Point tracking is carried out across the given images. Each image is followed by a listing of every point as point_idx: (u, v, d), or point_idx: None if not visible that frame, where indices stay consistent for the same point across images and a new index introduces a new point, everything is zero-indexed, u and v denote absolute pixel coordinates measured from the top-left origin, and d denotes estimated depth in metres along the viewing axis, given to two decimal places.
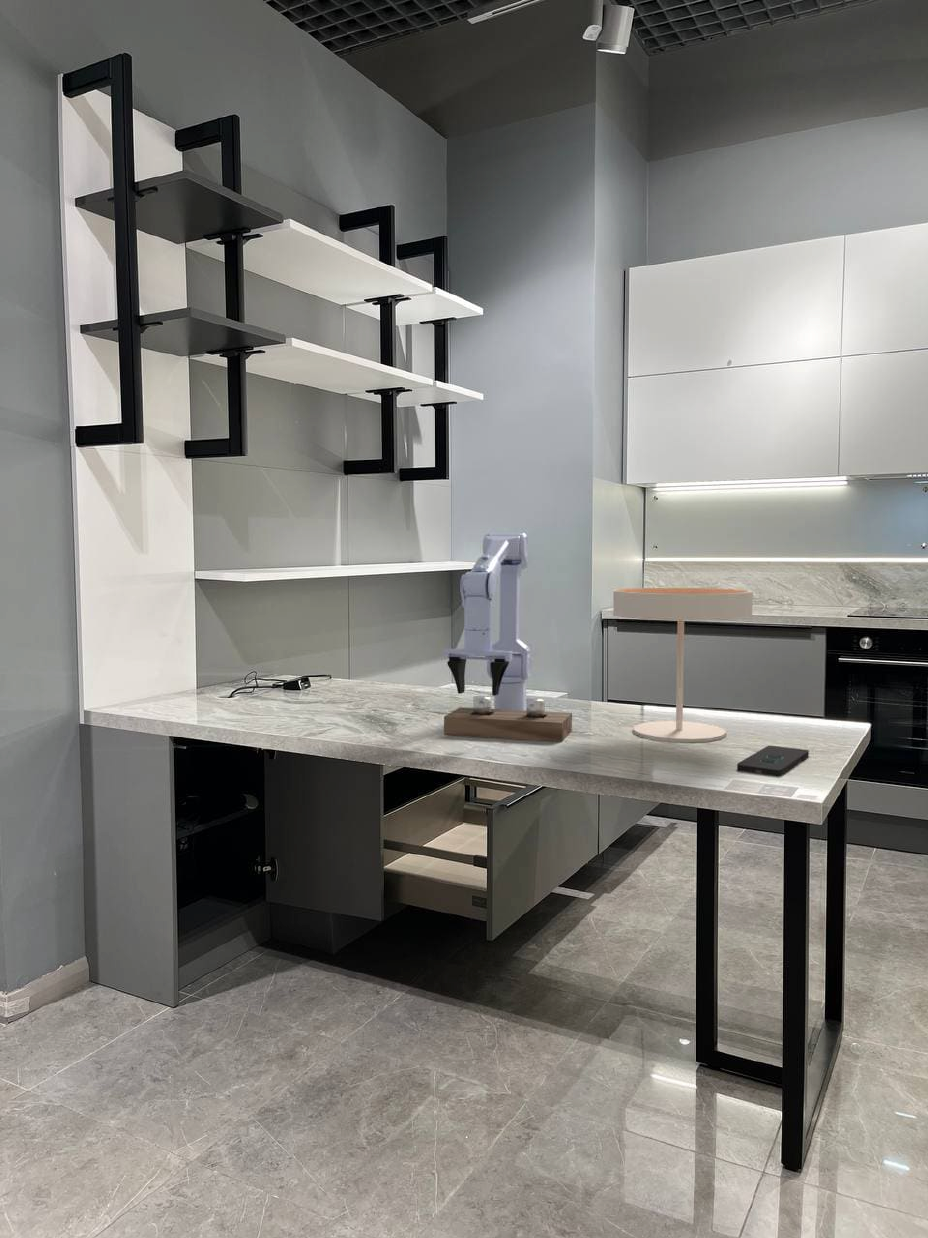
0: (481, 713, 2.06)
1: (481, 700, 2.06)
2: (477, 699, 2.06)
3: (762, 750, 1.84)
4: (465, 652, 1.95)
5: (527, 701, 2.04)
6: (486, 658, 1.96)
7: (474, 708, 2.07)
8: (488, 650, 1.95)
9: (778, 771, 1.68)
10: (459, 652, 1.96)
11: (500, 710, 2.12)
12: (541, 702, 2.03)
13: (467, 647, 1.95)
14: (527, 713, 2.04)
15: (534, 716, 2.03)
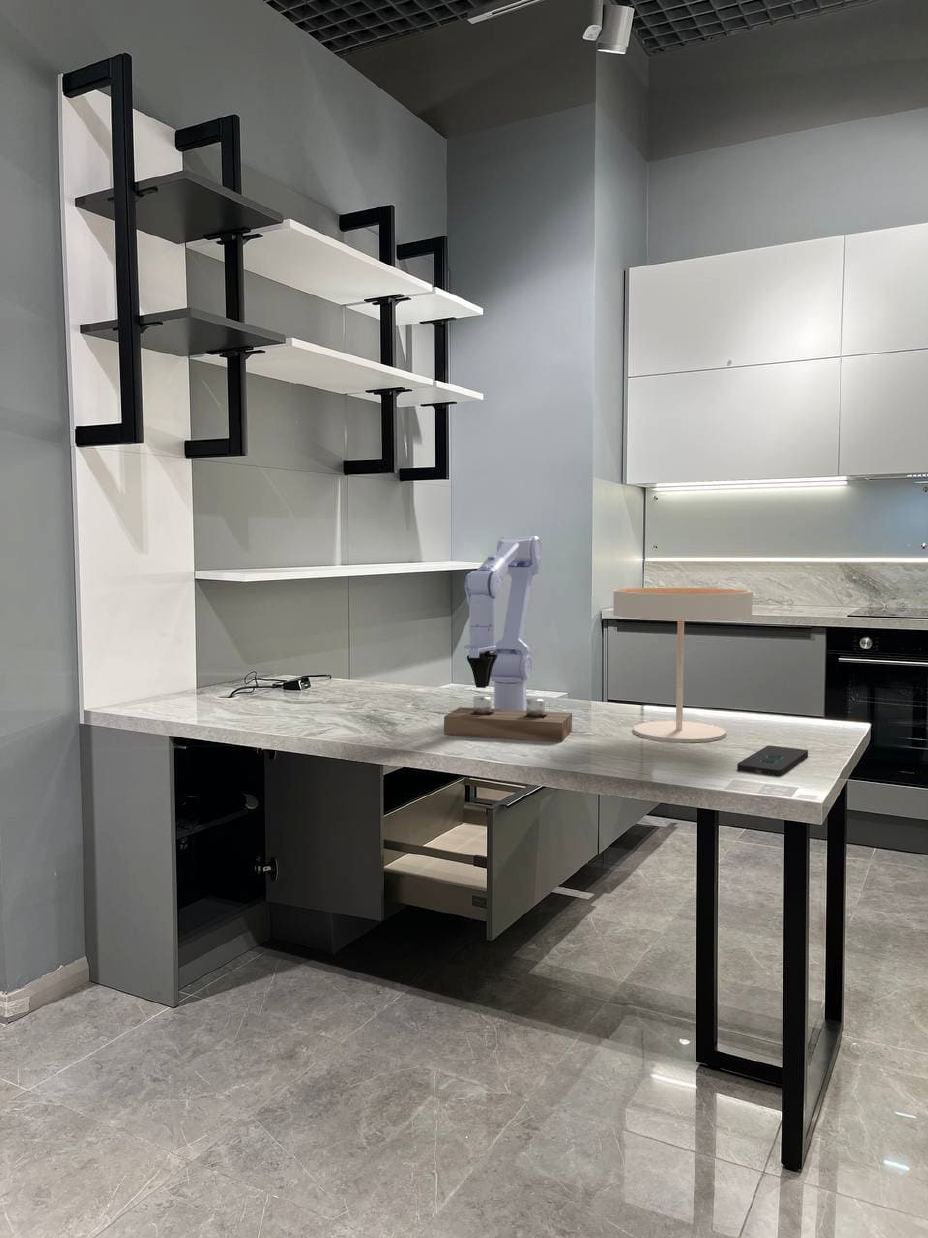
0: (481, 713, 2.06)
1: (481, 700, 2.06)
2: (477, 699, 2.06)
3: (762, 750, 1.84)
4: None
5: (527, 701, 2.04)
6: None
7: (474, 708, 2.07)
8: (474, 645, 2.05)
9: (778, 771, 1.68)
10: None
11: (500, 710, 2.12)
12: (541, 702, 2.03)
13: None
14: (527, 713, 2.04)
15: (534, 716, 2.03)
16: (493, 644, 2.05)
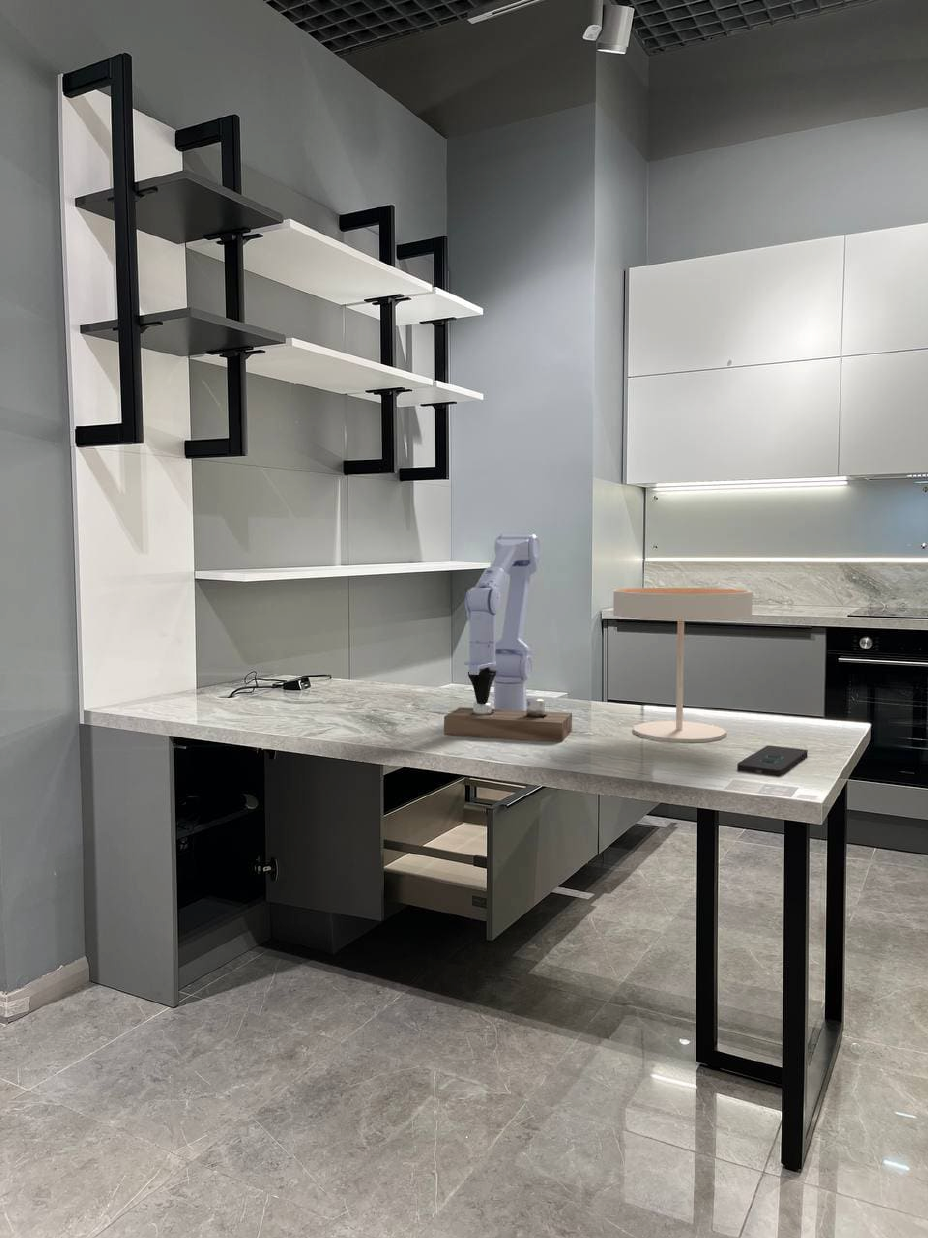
0: None
1: (481, 706, 2.06)
2: (477, 705, 2.06)
3: (761, 750, 1.84)
4: None
5: (527, 701, 2.04)
6: None
7: (474, 714, 2.07)
8: (474, 662, 2.05)
9: (778, 771, 1.68)
10: None
11: (500, 710, 2.12)
12: (541, 702, 2.03)
13: None
14: (527, 713, 2.04)
15: (534, 716, 2.03)
16: (493, 661, 2.06)
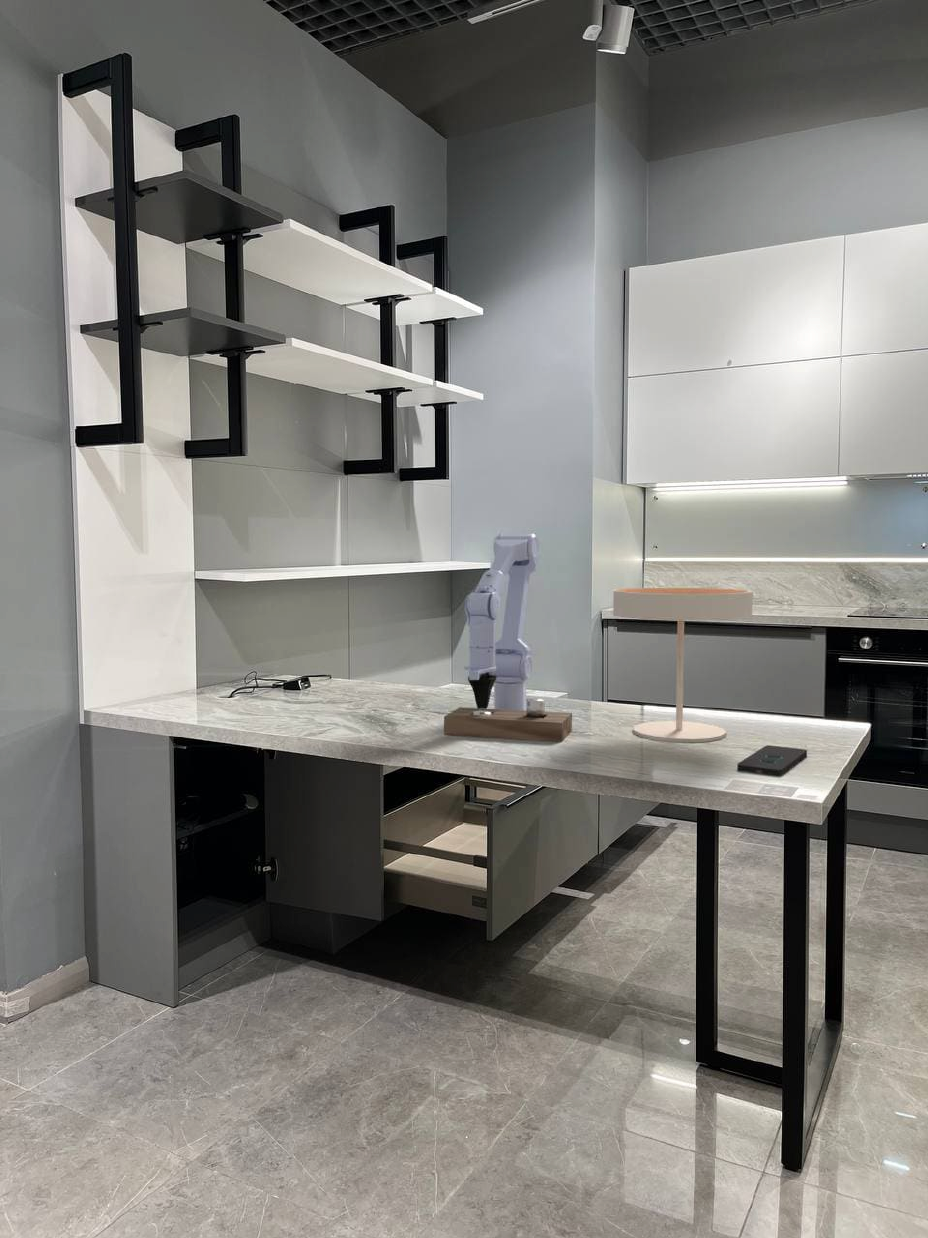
0: None
1: None
2: (477, 714, 2.06)
3: (761, 750, 1.84)
4: None
5: (527, 701, 2.04)
6: None
7: None
8: (474, 667, 2.05)
9: (779, 771, 1.68)
10: None
11: (500, 710, 2.12)
12: (541, 702, 2.03)
13: None
14: (527, 713, 2.04)
15: (534, 716, 2.03)
16: (493, 665, 2.06)
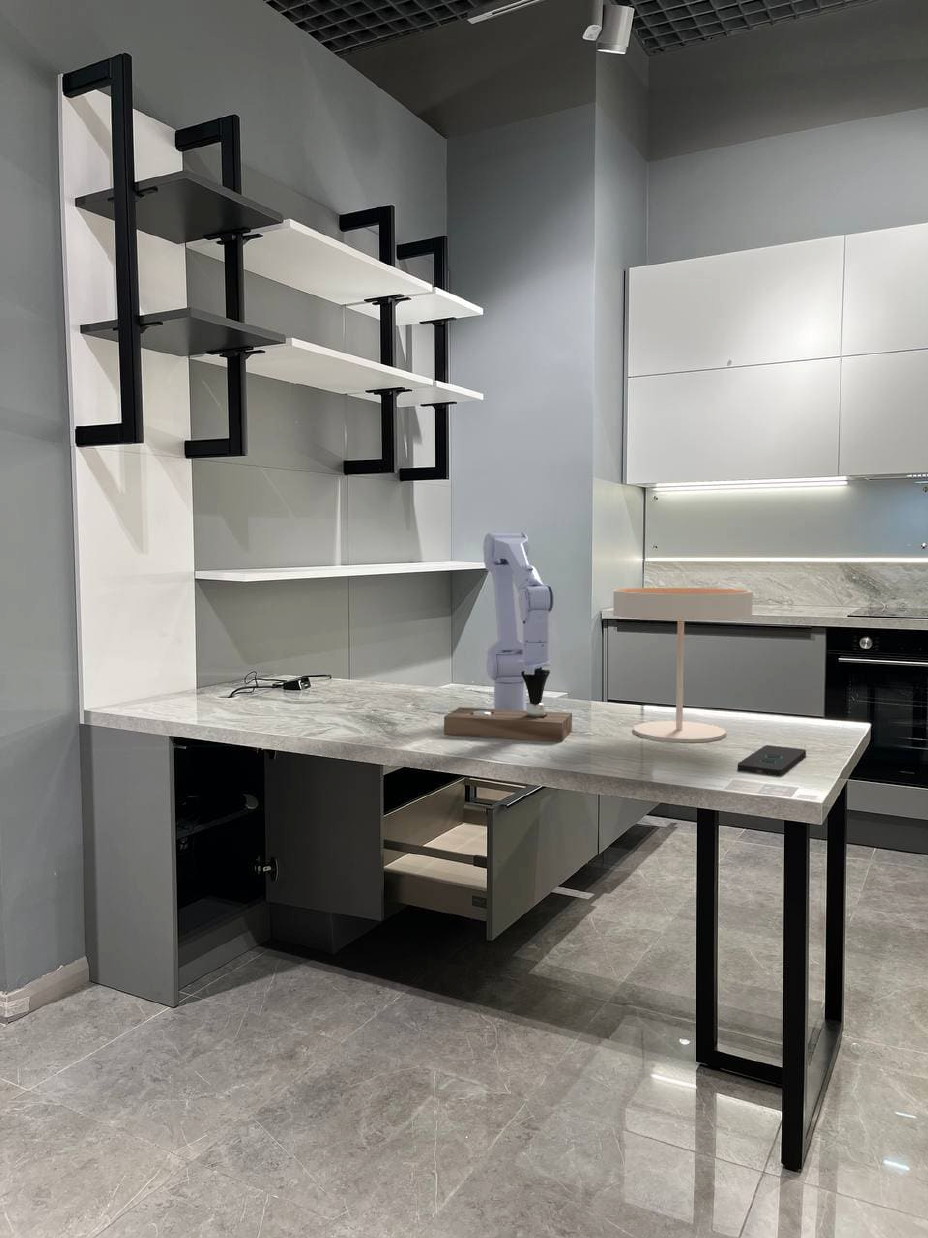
0: None
1: None
2: (477, 714, 2.06)
3: (760, 750, 1.84)
4: None
5: (527, 705, 2.04)
6: None
7: None
8: (528, 662, 2.02)
9: (779, 771, 1.68)
10: None
11: (500, 710, 2.12)
12: (541, 706, 2.03)
13: None
14: (527, 717, 2.04)
15: None
16: (547, 660, 2.02)
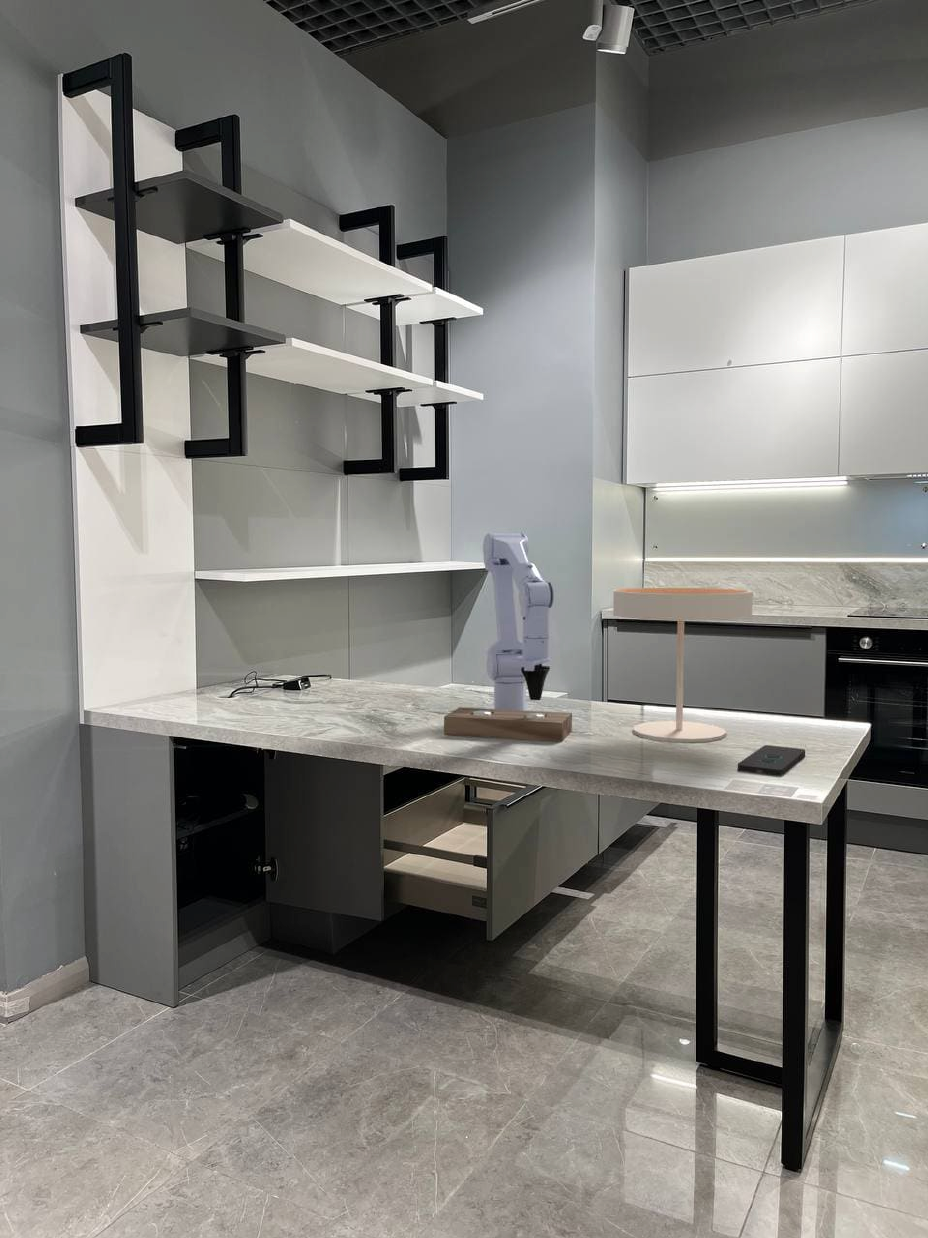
0: None
1: None
2: (477, 714, 2.06)
3: (759, 750, 1.84)
4: None
5: (527, 716, 2.04)
6: None
7: None
8: (528, 658, 2.02)
9: (779, 771, 1.68)
10: None
11: (500, 710, 2.12)
12: (541, 717, 2.03)
13: None
14: None
15: None
16: (547, 656, 2.02)
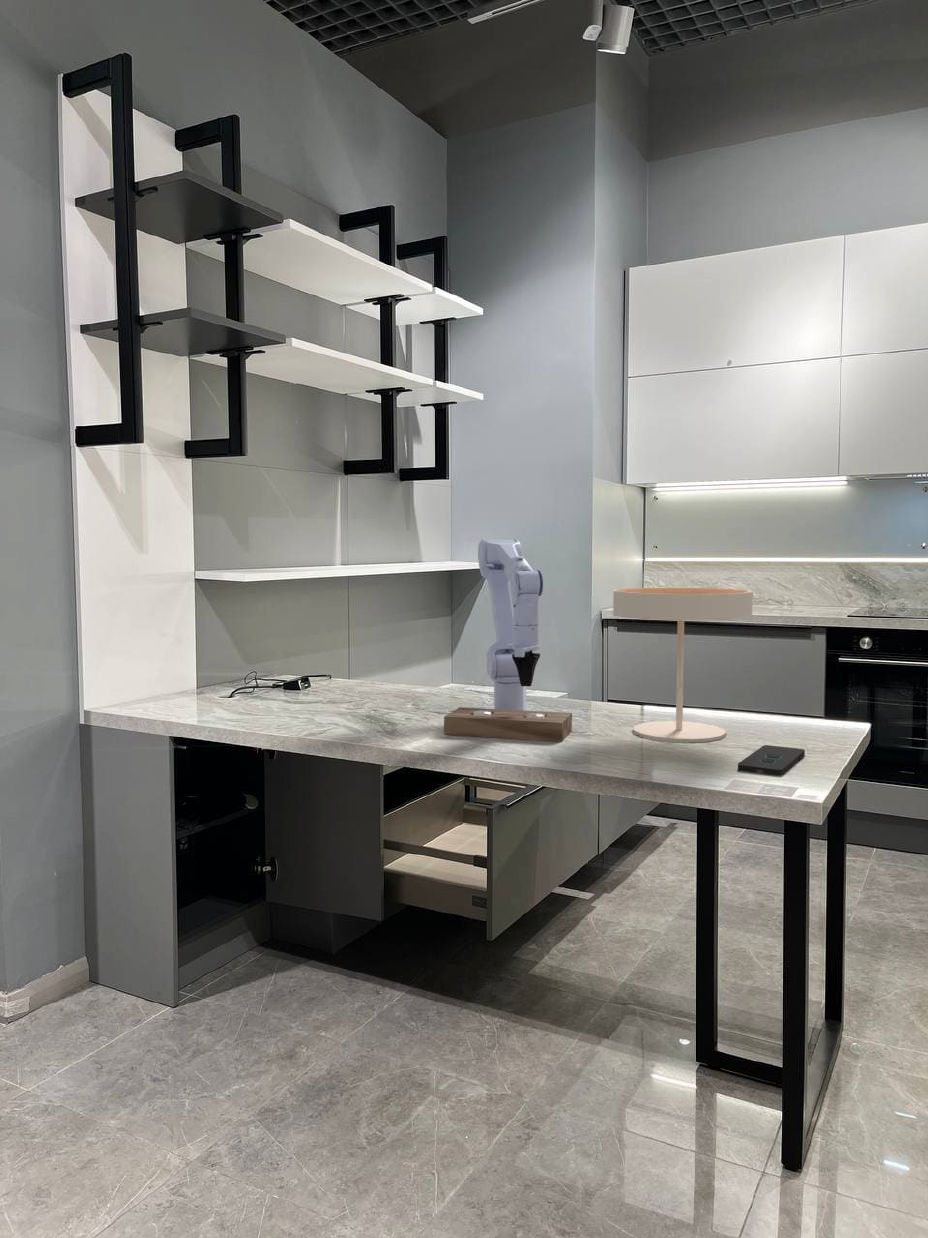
0: None
1: None
2: (477, 714, 2.06)
3: (759, 750, 1.84)
4: None
5: (527, 716, 2.04)
6: None
7: None
8: (519, 645, 2.06)
9: (779, 771, 1.68)
10: None
11: (500, 710, 2.12)
12: (541, 717, 2.03)
13: None
14: None
15: None
16: (537, 643, 2.07)
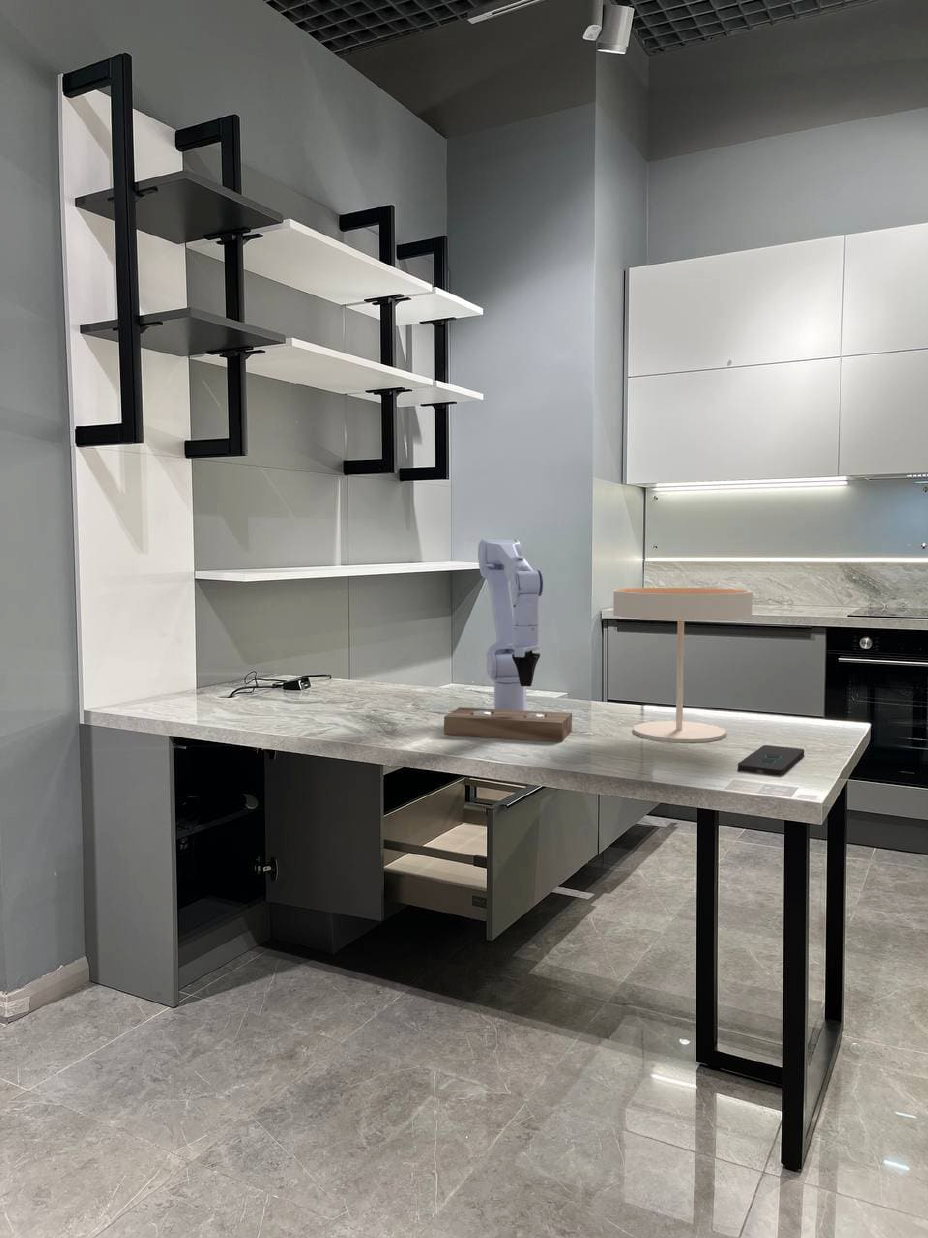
0: None
1: None
2: (477, 714, 2.06)
3: (759, 750, 1.84)
4: None
5: (527, 716, 2.04)
6: None
7: None
8: (519, 645, 2.06)
9: (779, 771, 1.68)
10: None
11: (500, 710, 2.12)
12: (541, 717, 2.03)
13: None
14: None
15: None
16: (537, 643, 2.07)
